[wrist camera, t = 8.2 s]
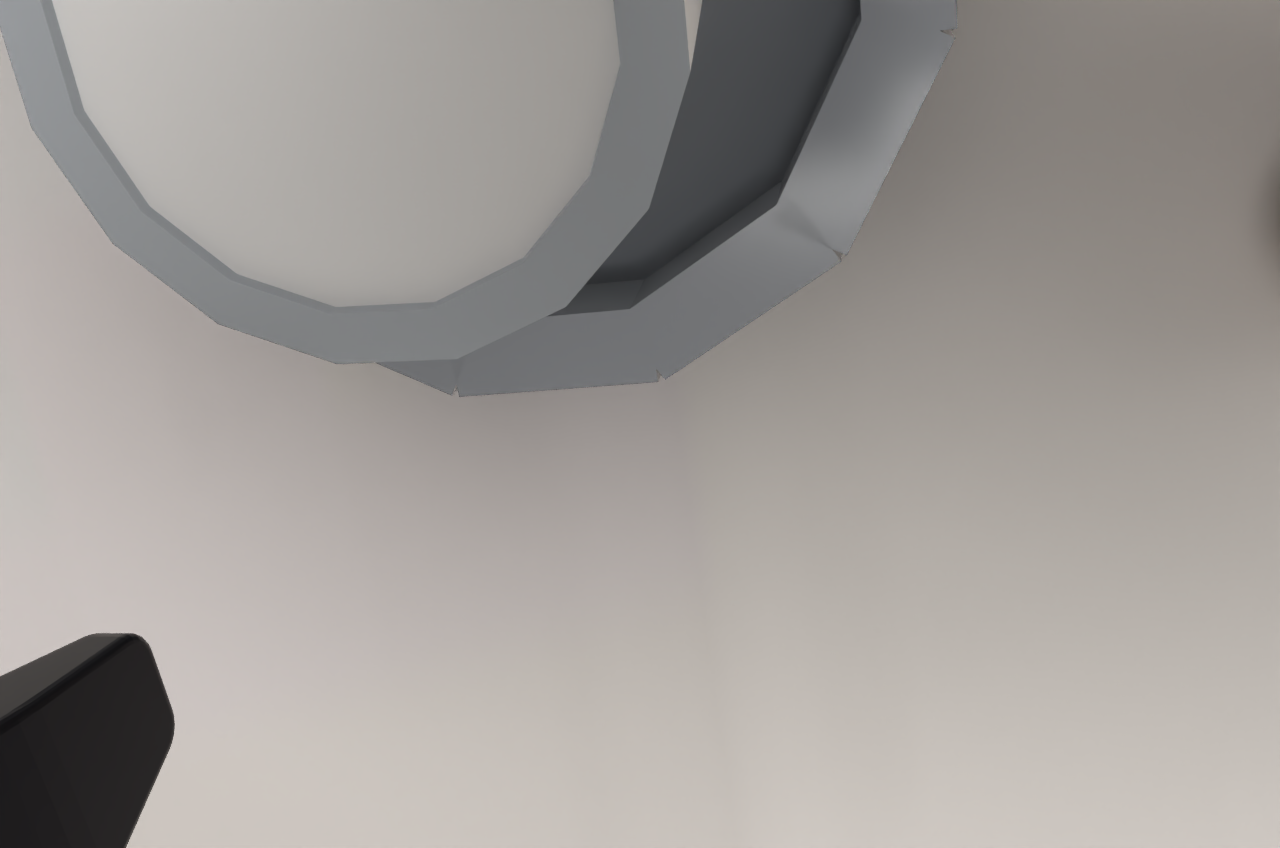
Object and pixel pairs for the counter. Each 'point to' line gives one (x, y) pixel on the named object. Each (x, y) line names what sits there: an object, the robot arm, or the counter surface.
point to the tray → (735, 192)
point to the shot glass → (360, 153)
